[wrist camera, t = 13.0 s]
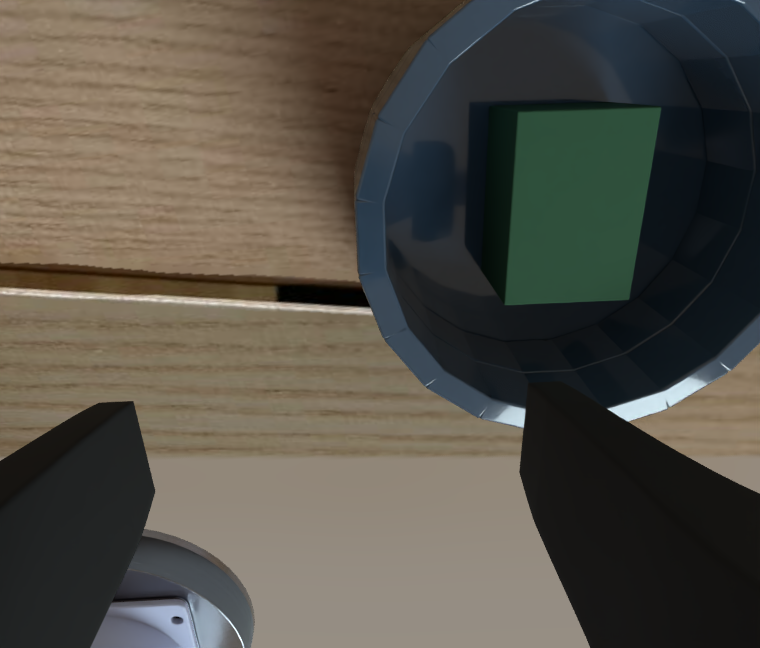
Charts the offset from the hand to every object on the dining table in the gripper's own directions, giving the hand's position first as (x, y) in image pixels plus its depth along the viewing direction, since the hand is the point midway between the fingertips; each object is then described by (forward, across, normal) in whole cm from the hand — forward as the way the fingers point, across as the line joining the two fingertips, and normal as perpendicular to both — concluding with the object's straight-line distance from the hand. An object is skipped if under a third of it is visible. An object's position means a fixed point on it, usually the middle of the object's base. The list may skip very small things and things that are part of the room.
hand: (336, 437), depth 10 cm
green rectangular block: (+8, -6, -3) cm, 11 cm away
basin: (+9, -6, -3) cm, 11 cm away
